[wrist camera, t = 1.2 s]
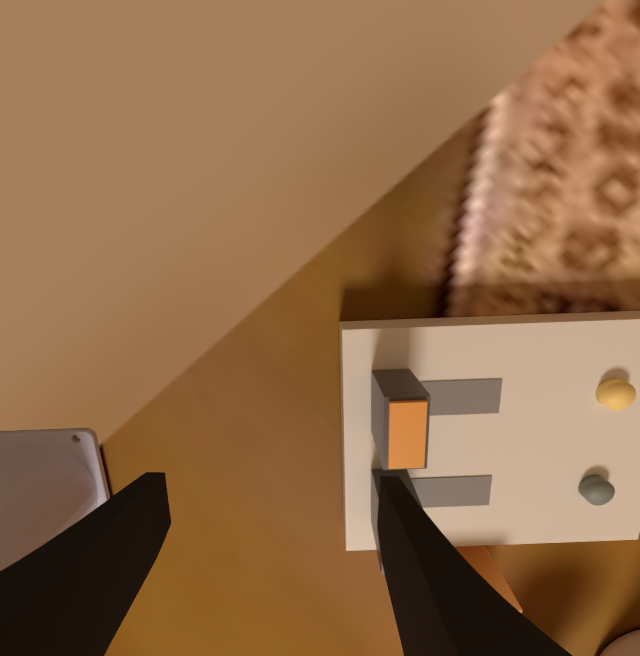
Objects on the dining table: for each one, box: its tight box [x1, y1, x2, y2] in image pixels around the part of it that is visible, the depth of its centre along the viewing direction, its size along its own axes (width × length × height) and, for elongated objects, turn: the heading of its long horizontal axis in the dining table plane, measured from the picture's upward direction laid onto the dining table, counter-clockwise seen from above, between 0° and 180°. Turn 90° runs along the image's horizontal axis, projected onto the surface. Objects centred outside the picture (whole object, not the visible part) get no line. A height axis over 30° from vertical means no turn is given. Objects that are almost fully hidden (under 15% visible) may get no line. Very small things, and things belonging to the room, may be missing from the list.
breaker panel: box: [339, 311, 640, 551], centre depth 19 cm, size 18×14×3 cm
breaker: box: [371, 469, 423, 574], centre depth 17 cm, size 2×4×3 cm, turn 2°
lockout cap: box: [455, 545, 522, 613], centre depth 21 cm, size 5×7×4 cm
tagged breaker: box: [371, 369, 431, 470], centre depth 16 cm, size 2×4×3 cm, turn 2°
